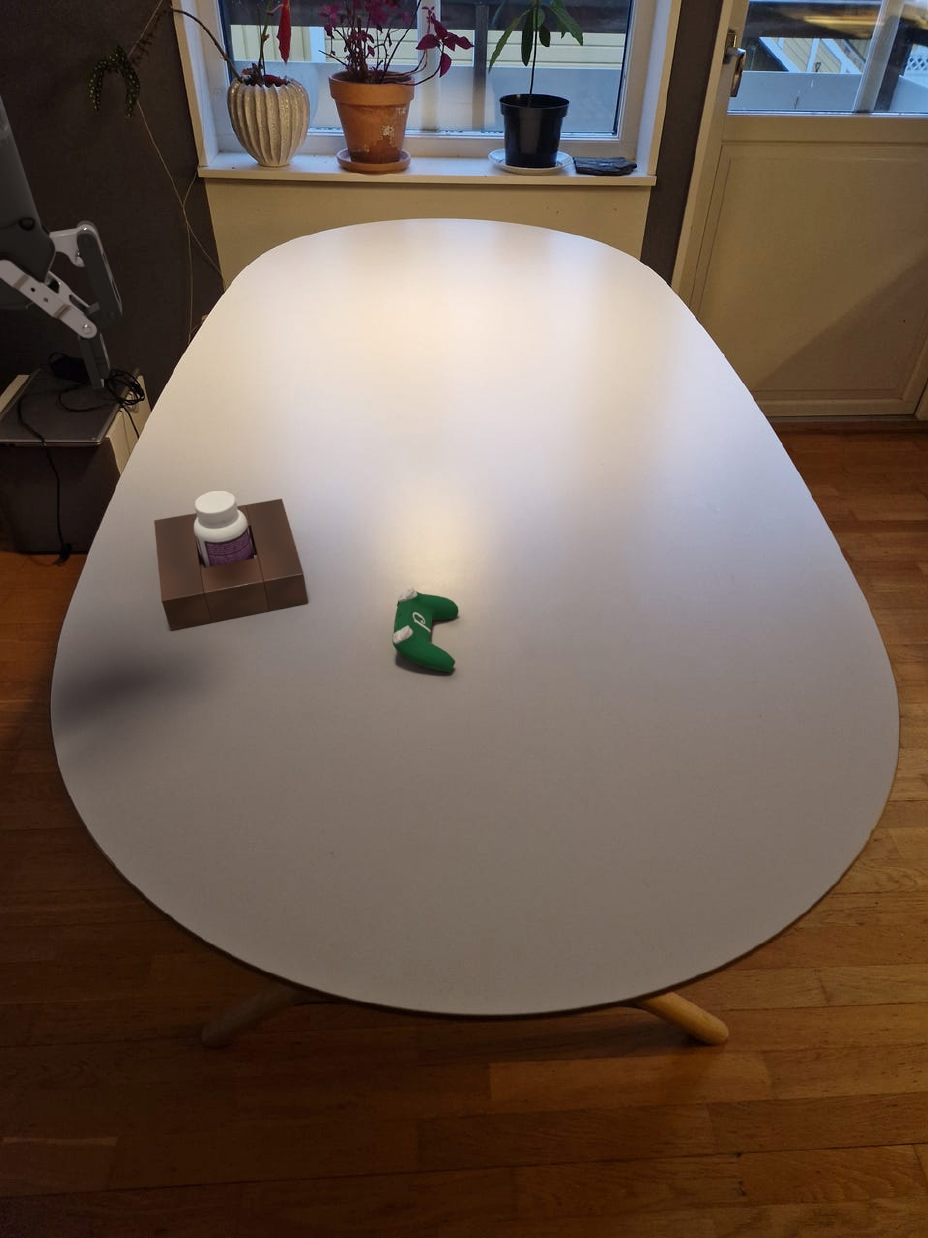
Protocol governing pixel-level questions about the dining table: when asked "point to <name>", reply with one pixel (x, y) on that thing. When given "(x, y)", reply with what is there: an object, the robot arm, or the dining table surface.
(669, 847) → the dining table surface
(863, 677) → the dining table surface
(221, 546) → the pill bottle
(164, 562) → the holder
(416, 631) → the gaming controller
